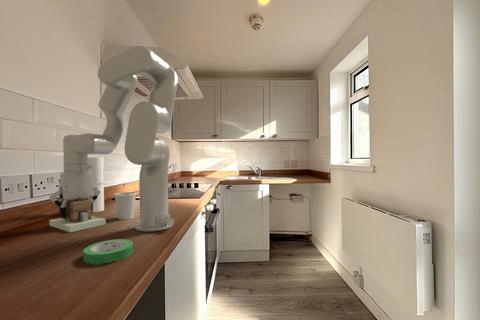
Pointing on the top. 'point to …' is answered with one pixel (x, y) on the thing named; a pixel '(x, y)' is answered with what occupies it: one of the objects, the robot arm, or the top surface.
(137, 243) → the top surface
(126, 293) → the top surface
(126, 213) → the dixie cup
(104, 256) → the tape roll
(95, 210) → the cylindrical container
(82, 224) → the cleat board
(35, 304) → the top surface
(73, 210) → the walnut block
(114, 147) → the robot arm
